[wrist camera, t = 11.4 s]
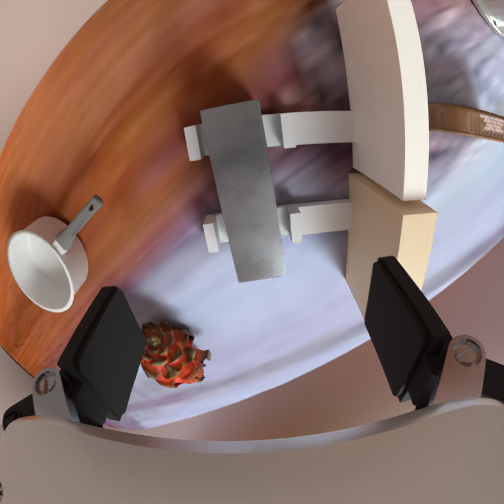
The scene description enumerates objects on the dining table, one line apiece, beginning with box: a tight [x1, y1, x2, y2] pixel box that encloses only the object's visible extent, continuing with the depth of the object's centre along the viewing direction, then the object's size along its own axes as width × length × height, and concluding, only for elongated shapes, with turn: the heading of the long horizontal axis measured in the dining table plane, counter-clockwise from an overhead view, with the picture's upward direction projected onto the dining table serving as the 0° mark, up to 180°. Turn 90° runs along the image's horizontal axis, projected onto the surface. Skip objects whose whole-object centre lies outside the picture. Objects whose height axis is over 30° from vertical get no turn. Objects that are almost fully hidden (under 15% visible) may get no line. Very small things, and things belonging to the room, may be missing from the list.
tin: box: [428, 103, 504, 143], centre depth 18 cm, size 15×3×8 cm, turn 97°
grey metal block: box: [200, 100, 286, 283], centre depth 22 cm, size 4×14×6 cm, turn 10°
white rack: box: [184, 0, 437, 320], centre depth 19 cm, size 18×30×11 cm, turn 7°
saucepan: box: [7, 195, 103, 312], centre depth 25 cm, size 12×20×6 cm, turn 124°
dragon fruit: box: [141, 321, 211, 388], centre depth 33 cm, size 8×8×12 cm
